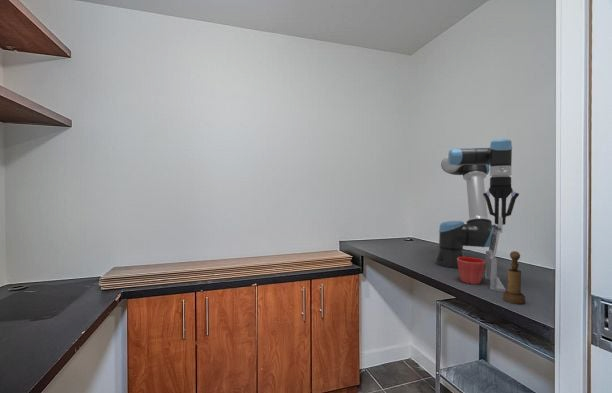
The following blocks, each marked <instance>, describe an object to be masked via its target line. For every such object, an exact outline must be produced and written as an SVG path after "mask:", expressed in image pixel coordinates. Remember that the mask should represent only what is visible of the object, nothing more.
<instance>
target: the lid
mask: <svg viewBox="0 0 612 393" xmlns="http://www.w3.org/2000/svg"><path fill="white" fill-rule="evenodd" d="M492 225H493V230H492V236H491V241H490V246H489V247H488V248H489V249H488V251H489V253H488V254H487V255H488V256H489V258H490V259H491V258H495V259H496V255H497V249H498V244H499V238H500V234H501V233H500V230H501V228H500V227H498V226H497V224H492Z"/></svg>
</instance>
